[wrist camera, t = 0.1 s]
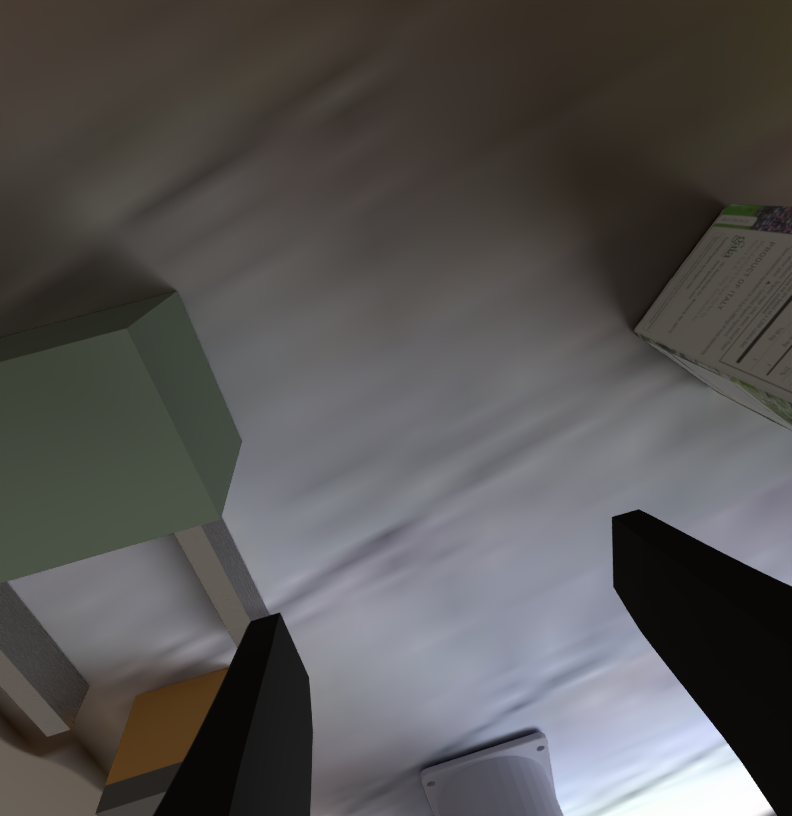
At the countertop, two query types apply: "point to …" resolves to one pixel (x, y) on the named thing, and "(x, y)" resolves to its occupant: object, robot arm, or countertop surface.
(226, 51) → the countertop surface
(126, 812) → the orange-topped grey cube
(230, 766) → the robot arm
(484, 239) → the countertop surface
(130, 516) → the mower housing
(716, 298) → the syrup box
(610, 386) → the countertop surface
